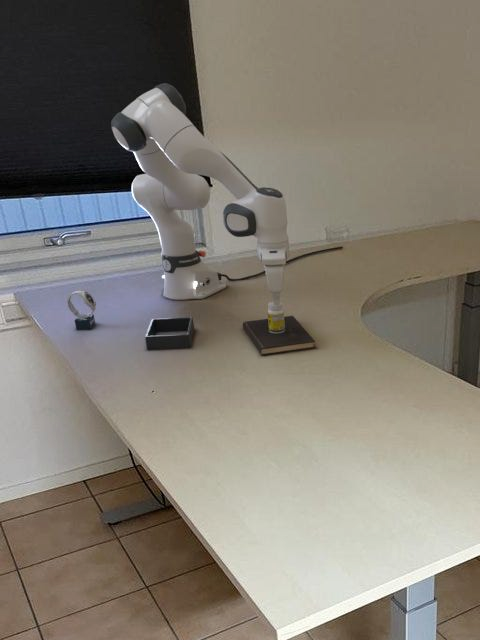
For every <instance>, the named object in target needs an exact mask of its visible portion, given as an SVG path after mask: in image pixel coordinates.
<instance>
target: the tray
mask: <svg viewBox="0 0 480 640" xmlns="http://www.w3.org/2000/svg"><path fill="white" fill-rule="evenodd" d="M185 331H186V333H185V334H184V333H183V334H164V335H162V334H160V335H156V333H165V332H185ZM194 334H195V322H194V316H186V317H166V318H165V317H164V318H151V320H150V323H149V325H148V328H147V330H146V333H145V336H144V338H145V339H144V340H145V345H146V350H147V351H156V350H157V351H159V350H177V349H191V347H192V343H193V339H194V338H193V337H194Z"/></svg>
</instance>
